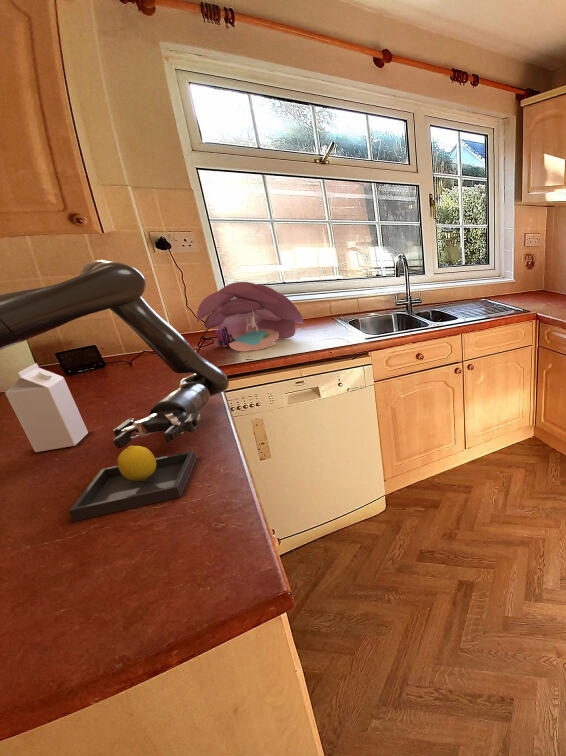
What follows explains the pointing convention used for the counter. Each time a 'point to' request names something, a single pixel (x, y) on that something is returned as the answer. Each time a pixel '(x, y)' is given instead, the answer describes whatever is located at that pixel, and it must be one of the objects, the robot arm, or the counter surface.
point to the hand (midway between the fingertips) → (142, 441)
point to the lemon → (136, 463)
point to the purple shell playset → (249, 316)
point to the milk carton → (46, 409)
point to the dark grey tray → (134, 487)
